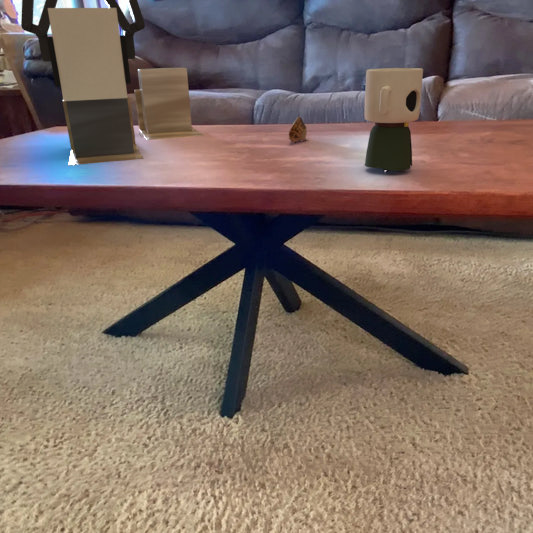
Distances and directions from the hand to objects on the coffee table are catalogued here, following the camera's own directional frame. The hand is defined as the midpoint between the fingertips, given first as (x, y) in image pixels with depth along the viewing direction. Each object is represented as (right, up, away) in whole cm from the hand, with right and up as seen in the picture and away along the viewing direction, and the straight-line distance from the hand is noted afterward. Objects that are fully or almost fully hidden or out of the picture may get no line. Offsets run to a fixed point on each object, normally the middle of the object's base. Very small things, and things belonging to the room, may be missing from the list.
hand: (93, 84), depth 75 cm
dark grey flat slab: (-1, -9, +9) cm, 13 cm away
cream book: (0, -2, +1) cm, 2 cm away
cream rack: (+6, 0, +29) cm, 30 cm away
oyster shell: (+31, -4, +20) cm, 37 cm away
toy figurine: (+42, -14, -5) cm, 45 cm away
